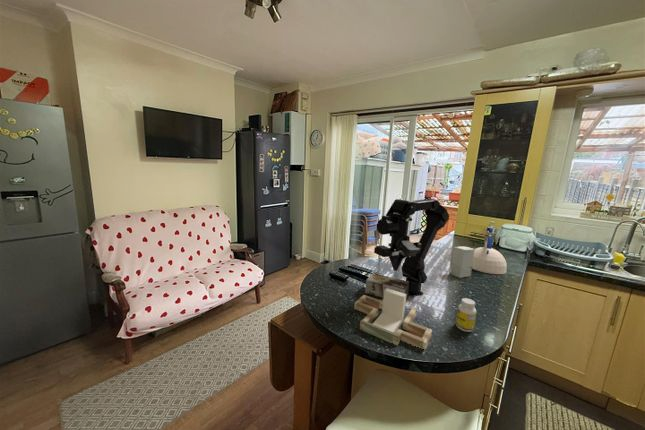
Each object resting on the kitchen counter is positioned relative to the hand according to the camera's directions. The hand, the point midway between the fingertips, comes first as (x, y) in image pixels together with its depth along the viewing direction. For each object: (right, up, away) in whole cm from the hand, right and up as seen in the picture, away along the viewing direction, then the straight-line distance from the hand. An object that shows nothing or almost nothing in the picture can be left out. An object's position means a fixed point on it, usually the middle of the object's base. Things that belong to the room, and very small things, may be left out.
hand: (395, 270), depth 101 cm
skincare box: (+43, -10, +32) cm, 54 cm away
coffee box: (-9, -7, +10) cm, 15 cm away
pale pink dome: (+64, -8, +45) cm, 79 cm away
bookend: (-7, -15, -15) cm, 22 cm away
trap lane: (-6, -15, -13) cm, 21 cm away
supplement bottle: (+20, -17, -14) cm, 29 cm away
